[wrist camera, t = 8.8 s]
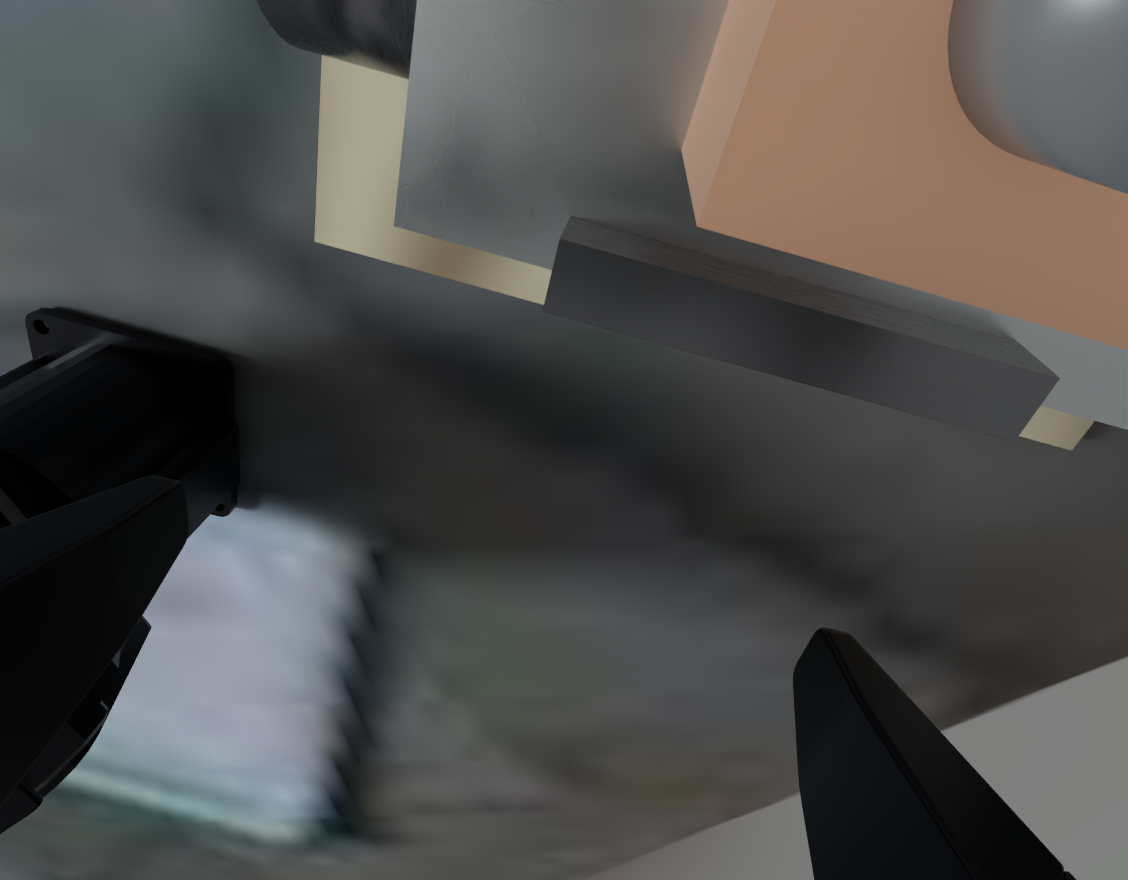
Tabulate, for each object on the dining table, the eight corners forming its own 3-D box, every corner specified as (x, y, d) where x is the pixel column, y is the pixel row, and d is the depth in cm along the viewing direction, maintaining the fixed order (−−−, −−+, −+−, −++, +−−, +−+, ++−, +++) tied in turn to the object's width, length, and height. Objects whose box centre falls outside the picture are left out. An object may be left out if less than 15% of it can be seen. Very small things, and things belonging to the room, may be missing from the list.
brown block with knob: (681, 150, 11) (707, 278, 5) (819, -284, 8) (1181, -999, 2) (978, 236, 11) (1321, 452, 5) (1208, -162, 8) (2391, -585, 3)
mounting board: (326, 233, 19) (314, 241, 18) (375, -745, 11) (356, -797, 10) (1057, 436, 20) (1071, 450, 19) (1649, -347, 11) (1713, -372, 11)
